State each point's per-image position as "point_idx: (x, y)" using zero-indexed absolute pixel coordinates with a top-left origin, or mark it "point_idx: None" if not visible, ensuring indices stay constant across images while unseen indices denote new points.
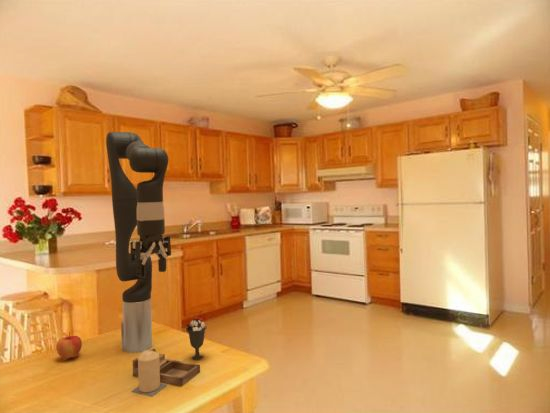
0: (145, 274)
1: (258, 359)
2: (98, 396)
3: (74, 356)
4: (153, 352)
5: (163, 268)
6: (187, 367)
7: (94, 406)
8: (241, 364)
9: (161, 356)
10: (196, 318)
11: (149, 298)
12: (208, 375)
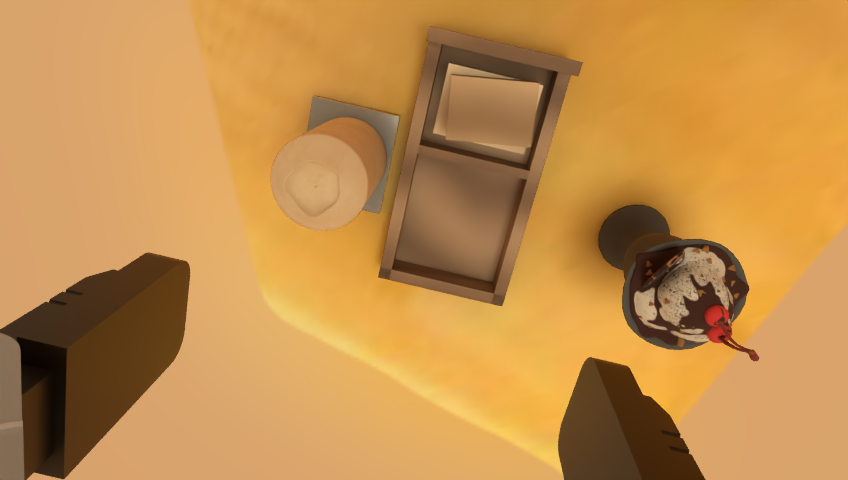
0: (150, 375)
1: None
2: None
3: None
4: (310, 217)
5: (569, 461)
6: (504, 248)
7: (202, 3)
8: None
9: (502, 144)
10: (706, 320)
11: None
12: (486, 326)
